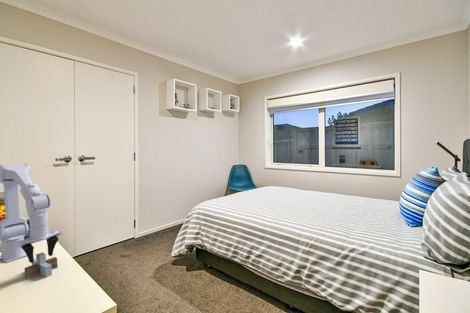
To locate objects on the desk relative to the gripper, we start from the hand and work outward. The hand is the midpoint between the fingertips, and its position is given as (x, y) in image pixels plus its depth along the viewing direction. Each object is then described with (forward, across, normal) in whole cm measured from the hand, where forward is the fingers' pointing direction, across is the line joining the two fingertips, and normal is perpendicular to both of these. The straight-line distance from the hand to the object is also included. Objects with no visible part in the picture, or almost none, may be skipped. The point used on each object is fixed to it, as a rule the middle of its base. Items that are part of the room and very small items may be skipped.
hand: (41, 258), depth 93 cm
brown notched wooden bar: (+6, 0, 0) cm, 6 cm away
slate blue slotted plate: (+6, 0, 0) cm, 6 cm away
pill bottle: (+6, +12, +48) cm, 50 cm away
